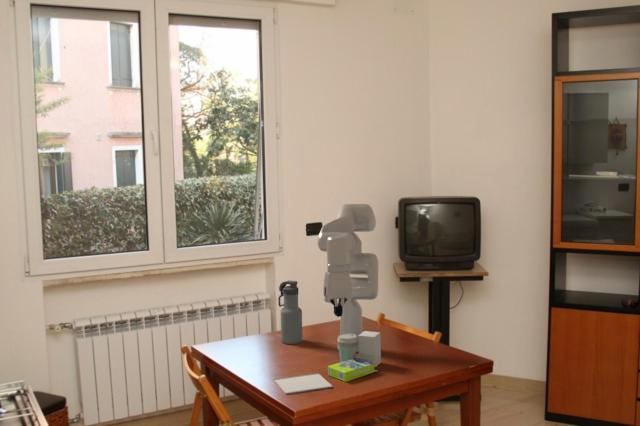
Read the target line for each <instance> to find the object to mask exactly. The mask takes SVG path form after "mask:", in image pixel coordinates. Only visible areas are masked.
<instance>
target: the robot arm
mask: <svg viewBox="0 0 640 426" xmlns="http://www.w3.org/2000/svg"><path fill="white" fill-rule="evenodd" d="M376 221H377V220H376V216H375V213H374V210H373V208H372V206H371V205H369V204H367V203H346V204H343V205H341V206H340V207H339V208H338V211H337V215H336V218H335V219H333V220H332V221H330V222H327V223H326V224H324V225H323V226H322V227H321V229H320V231H319V233H318V239H317V247H318V249H319V250H320V251H322V252H324V253H325V252H326V259H327V260H326V262H327V263H326V265H327V266H326V267H327V271H326V272H325V273H324V277H323V278H324V280H323V288H322V289H323V297H324V299H323V301H324V302H325V303H330V304H331V305H332V306H333V313H334V314H333V315H334V316H336V317H337V318H340V319H339V320H340V323H339V324H340V326H339V327H340V333H339V334H340V335H341V334H355V335H356V336H357V338H358V335H360V334H361V333H362V332H363V309H362V306H361V305H360V303H359V301H357V300H367V301H370V300H371V301H372V300H374V299H377V297H378V294H379V260H378V257H377V255H376V254H375V253H373V252H362V247H363V245H362V243H363V242H362V240H361V238H360V237H359V236H358V234H356V233H358V232H359V233H362V232H364V233H367V232H372V231H374V230H375V229H376V223H377V222H376ZM350 275H360V276H361V275H365V276H367V277H358V276H357V277H356V276H355V277H353V276H352V277H351V276H350ZM336 348H337V350H338V351H339V347H338V344H337V345H336ZM356 353H359V352H358V342H357V351H356Z"/></svg>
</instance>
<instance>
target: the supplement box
mask: <svg viewBox="0 0 640 426" xmlns="http://www.w3.org/2000/svg"><path fill="white" fill-rule="evenodd" d="M381 341H382V340H381V332H379V331H378V332H377V331H367V330H365V331H362V333H361V334H360V335H358V352H357V353H358V358H359V359H362V360H365V361H368V362H371V363H374V368H376V367H378V365H380V364H381V362H382V351H381V350H382V343H381Z"/></svg>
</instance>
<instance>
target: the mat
mask: <svg viewBox="0 0 640 426" xmlns="http://www.w3.org/2000/svg"><path fill="white" fill-rule="evenodd" d="M273 381H274V382H275V383H276V385H277V386H278V387H279V388H280V389H281V390H282V391H283V393H285V395H286V396H287V395H294V394H300V393H308V392H314V391H321V390H322V391H323V390H327V389H333V388H334V386H333V385H332V384H331V383H330V382H329V381H327V380H326V379H325V378H324V377H323V376H322V375H321V374H320V373H319V372H315V373H309V374H302V375H295V376H288V377H279V378H274V379H273Z"/></svg>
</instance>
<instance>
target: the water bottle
mask: <svg viewBox="0 0 640 426" xmlns="http://www.w3.org/2000/svg"><path fill="white" fill-rule="evenodd" d="M287 285H288V286H287ZM278 291H279V292H280V295H279V296H278V297H277V298H278V307H282V308H281V309H280V341H281V342H282V343H283V344H286V345H297V344H300V343H302V341H303V311H302V308H301V307H299V287H298V281H297V280H290V279H288V280H286V281H283V282H281V283H280V284H279V287H278ZM281 297H283V304H281Z"/></svg>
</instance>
